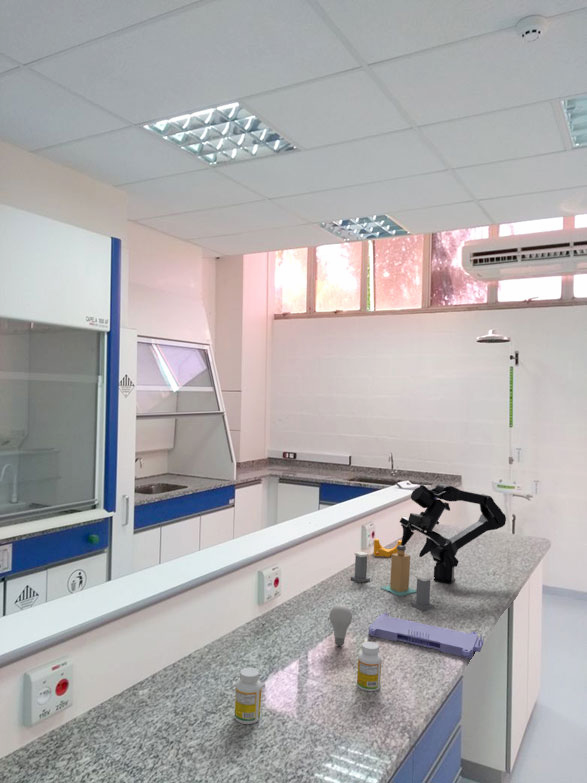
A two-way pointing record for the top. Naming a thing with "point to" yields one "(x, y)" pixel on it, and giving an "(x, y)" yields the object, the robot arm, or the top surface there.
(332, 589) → the top surface
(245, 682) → the supplement bottle
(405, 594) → the mat
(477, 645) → the computer part
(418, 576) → the post
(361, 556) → the post right
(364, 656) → the supplement bottle
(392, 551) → the pipe clamp
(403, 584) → the bottle
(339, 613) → the lightbulb
